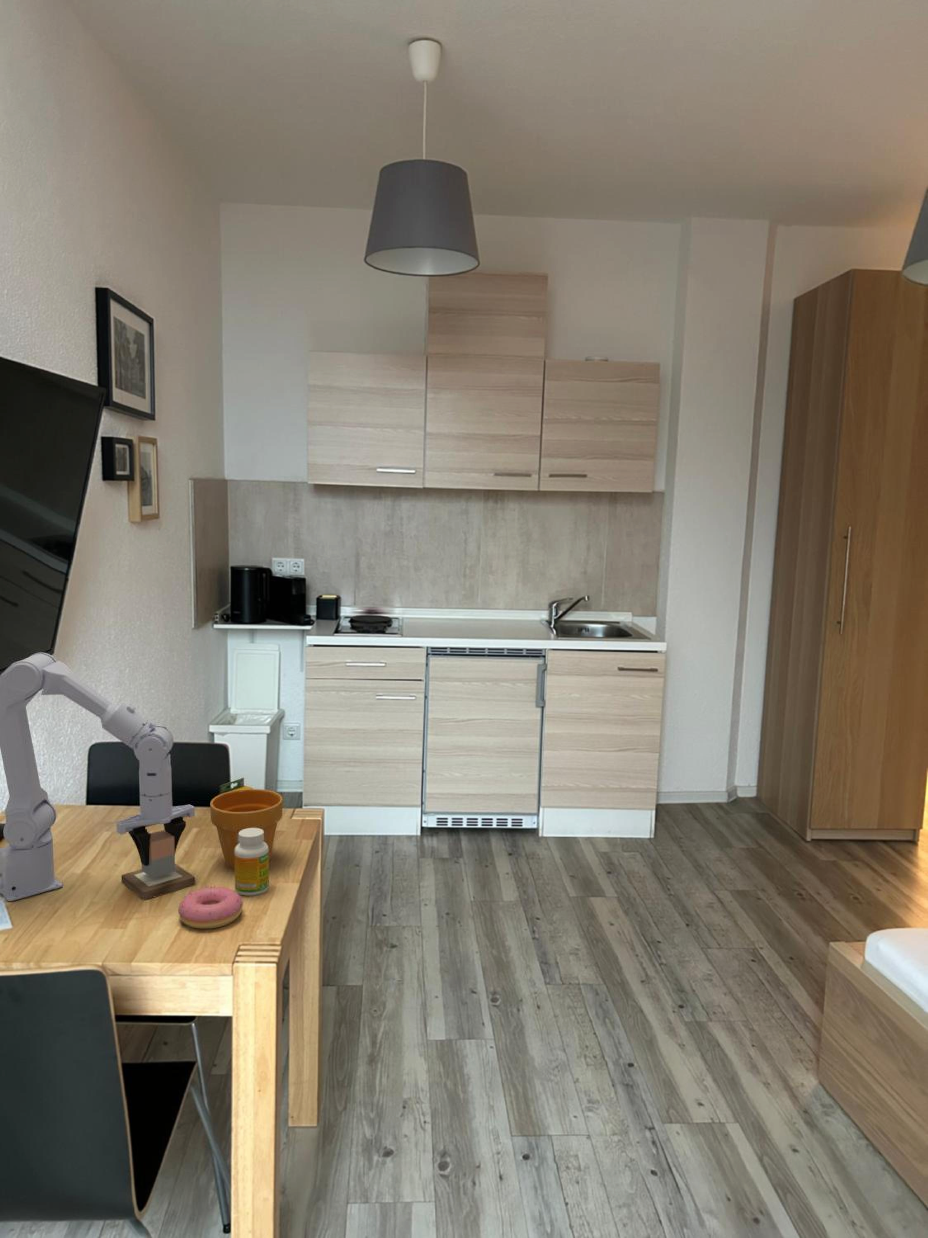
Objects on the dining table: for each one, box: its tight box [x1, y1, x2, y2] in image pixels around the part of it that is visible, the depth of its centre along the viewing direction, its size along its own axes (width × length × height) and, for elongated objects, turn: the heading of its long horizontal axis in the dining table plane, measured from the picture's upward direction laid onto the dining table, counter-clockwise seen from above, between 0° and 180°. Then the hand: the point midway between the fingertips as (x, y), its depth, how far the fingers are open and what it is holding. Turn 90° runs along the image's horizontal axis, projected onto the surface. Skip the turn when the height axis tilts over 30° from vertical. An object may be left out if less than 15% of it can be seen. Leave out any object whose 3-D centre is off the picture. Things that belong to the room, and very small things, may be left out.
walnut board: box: [121, 863, 196, 901], centre depth 165 cm, size 10×10×2 cm
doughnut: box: [177, 885, 244, 930], centre depth 152 cm, size 11×11×4 cm
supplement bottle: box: [234, 828, 270, 897], centre depth 162 cm, size 6×6×11 cm
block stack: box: [141, 829, 176, 878], centre depth 164 cm, size 4×4×7 cm
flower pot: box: [209, 788, 284, 870], centre depth 175 cm, size 14×14×13 cm
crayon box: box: [219, 777, 254, 795], centre depth 190 cm, size 7×3×12 cm, turn 148°
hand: (157, 860), depth 164 cm, fingers closed on block stack, 4 cm apart
